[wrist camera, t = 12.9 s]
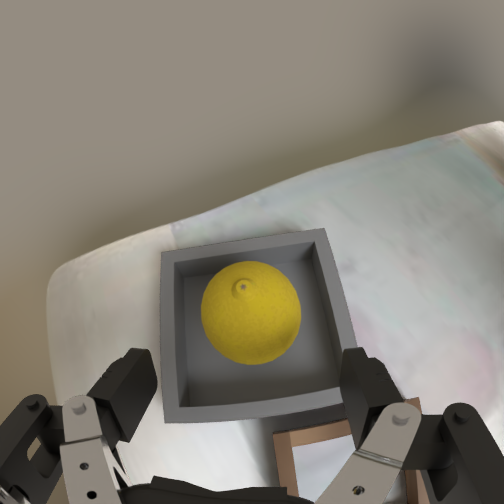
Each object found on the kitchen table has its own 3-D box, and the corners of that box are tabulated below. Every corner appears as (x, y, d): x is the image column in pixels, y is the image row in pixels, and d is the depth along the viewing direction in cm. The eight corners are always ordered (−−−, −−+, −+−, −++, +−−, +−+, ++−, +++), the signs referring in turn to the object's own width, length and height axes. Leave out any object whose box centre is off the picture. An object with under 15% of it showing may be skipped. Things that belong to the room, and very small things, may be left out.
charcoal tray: (319, 249, 23) (324, 227, 21) (355, 398, 17) (368, 396, 14) (173, 271, 23) (161, 252, 21) (180, 422, 17) (164, 423, 14)
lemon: (205, 316, 20) (169, 261, 14) (275, 285, 21) (272, 218, 14) (235, 386, 18) (208, 369, 11) (311, 351, 19) (330, 312, 12)
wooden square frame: (406, 399, 16) (418, 397, 14) (419, 508, 11) (431, 514, 9) (272, 432, 16) (272, 434, 15) (289, 546, 11) (290, 557, 9)
